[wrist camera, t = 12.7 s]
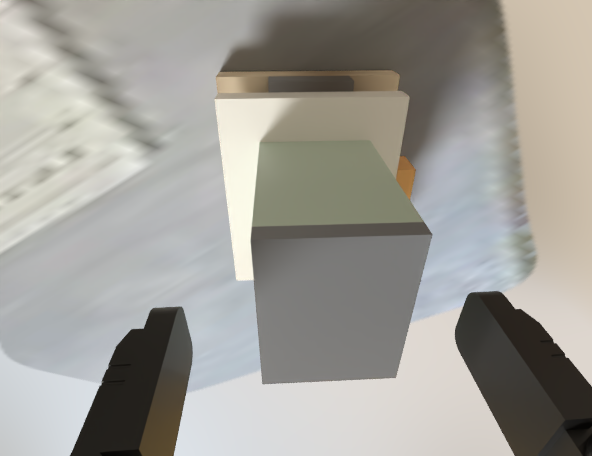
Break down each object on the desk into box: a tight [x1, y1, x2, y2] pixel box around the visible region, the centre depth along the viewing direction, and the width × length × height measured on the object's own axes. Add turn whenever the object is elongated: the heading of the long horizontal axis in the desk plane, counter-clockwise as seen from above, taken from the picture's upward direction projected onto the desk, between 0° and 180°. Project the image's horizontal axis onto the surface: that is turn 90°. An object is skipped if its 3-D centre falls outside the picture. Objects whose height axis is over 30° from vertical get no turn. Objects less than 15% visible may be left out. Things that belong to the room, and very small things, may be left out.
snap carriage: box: [215, 91, 416, 280], centre depth 17 cm, size 8×9×2 cm
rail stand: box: [216, 70, 400, 93], centre depth 18 cm, size 8×10×2 cm
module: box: [250, 140, 432, 384], centre depth 14 cm, size 5×6×7 cm
